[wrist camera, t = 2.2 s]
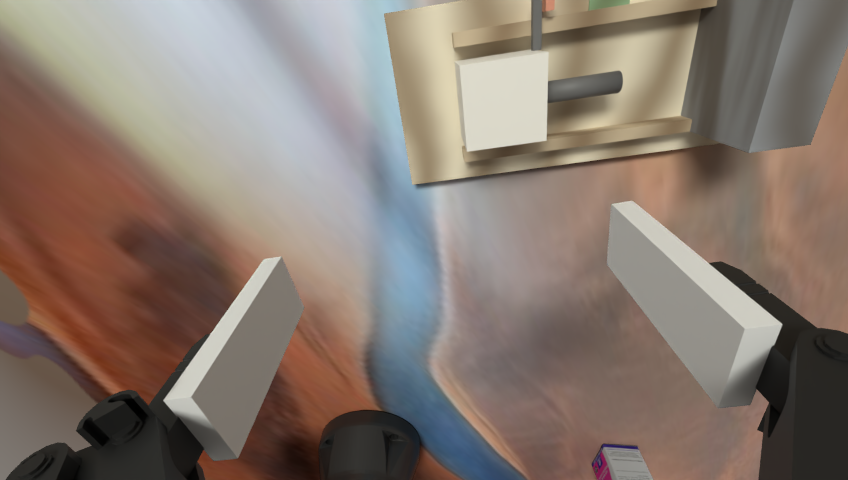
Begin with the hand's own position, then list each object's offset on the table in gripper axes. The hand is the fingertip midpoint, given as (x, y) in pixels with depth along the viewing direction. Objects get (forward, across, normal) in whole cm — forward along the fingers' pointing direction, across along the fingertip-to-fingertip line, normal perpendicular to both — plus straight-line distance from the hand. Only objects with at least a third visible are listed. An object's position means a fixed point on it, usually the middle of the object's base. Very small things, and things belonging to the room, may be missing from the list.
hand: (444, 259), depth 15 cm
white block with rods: (+20, +8, +4) cm, 22 cm away
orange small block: (+20, +10, +8) cm, 24 cm away
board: (+22, +11, +2) cm, 25 cm away
